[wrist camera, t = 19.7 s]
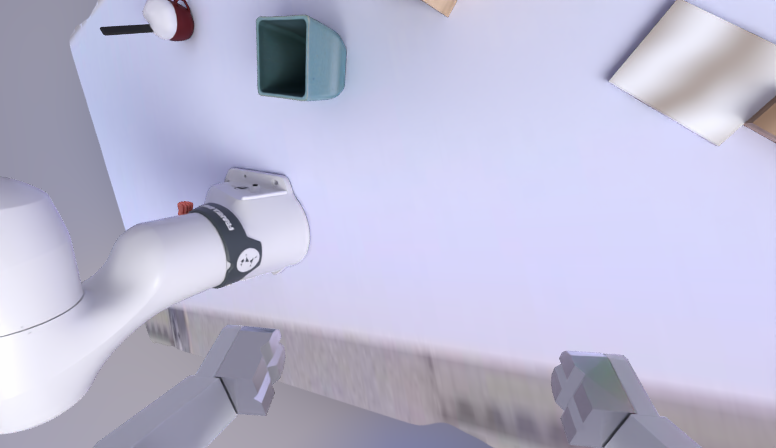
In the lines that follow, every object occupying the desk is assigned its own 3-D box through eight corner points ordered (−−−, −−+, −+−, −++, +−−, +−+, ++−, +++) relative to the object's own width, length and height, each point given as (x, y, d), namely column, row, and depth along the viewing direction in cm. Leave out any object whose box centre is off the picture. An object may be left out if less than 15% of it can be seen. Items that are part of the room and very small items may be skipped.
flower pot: (307, 100, 51) (256, 95, 43) (309, 33, 48) (254, 16, 41) (354, 105, 47) (306, 101, 39) (359, 33, 44) (308, 13, 36)
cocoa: (196, -4, 59) (114, -36, 49) (206, 32, 60) (127, 8, 50) (169, 22, 64) (90, -1, 54) (179, 56, 65) (102, 38, 55)
